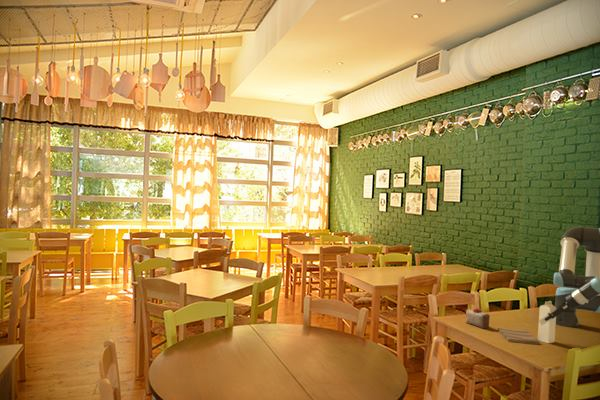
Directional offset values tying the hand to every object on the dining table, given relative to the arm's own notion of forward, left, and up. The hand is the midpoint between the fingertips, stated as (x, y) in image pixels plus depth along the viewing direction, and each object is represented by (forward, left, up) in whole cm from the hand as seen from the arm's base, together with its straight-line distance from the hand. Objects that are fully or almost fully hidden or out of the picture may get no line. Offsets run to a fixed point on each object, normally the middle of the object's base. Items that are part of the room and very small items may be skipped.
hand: (542, 320), depth 240 cm
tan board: (-1, -12, -11) cm, 16 cm away
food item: (-18, -30, -11) cm, 37 cm away
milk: (+1, +2, -11) cm, 11 cm away
